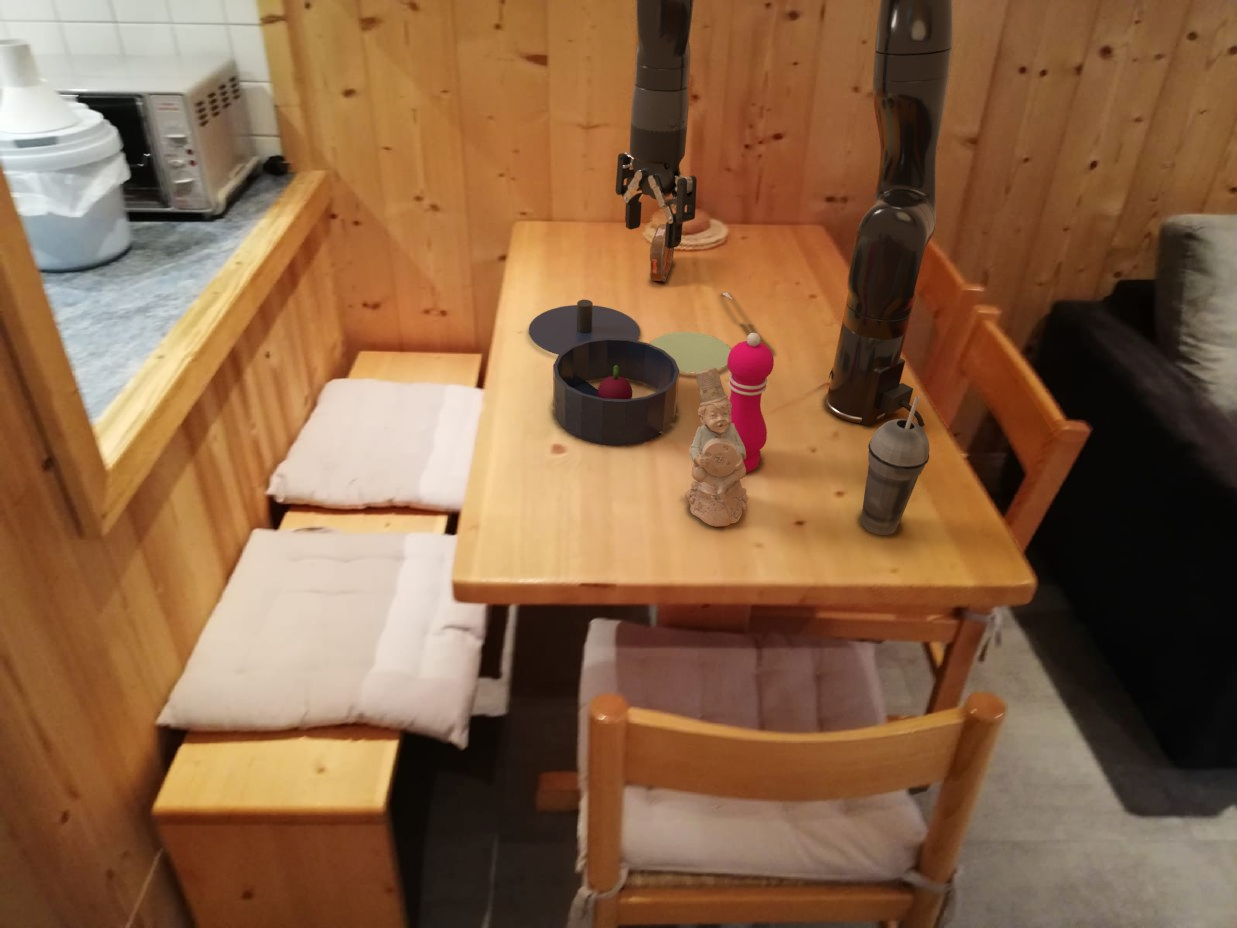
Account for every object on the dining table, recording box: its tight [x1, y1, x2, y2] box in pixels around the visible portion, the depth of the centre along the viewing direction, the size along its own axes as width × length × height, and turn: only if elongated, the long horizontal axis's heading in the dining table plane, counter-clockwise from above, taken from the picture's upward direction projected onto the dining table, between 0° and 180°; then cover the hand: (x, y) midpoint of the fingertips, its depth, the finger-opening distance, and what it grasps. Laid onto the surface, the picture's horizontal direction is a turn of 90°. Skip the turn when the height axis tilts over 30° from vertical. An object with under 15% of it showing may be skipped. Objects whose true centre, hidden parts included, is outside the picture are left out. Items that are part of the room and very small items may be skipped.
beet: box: [597, 365, 633, 399], centre depth 135 cm, size 5×5×7 cm
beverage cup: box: [861, 395, 930, 536], centre depth 112 cm, size 7×7×20 cm
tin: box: [649, 223, 675, 283], centre depth 176 cm, size 15×3×8 cm, turn 168°
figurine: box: [684, 367, 749, 527], centre depth 113 cm, size 9×8×20 cm
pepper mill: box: [726, 332, 775, 473], centre depth 122 cm, size 7×7×20 cm
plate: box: [650, 331, 732, 374], centre depth 151 cm, size 14×14×1 cm
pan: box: [552, 338, 680, 447], centre depth 135 cm, size 18×18×8 cm
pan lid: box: [528, 299, 641, 356], centre depth 154 cm, size 19×19×6 cm
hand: (651, 237), depth 130 cm, fingers open, 8 cm apart
